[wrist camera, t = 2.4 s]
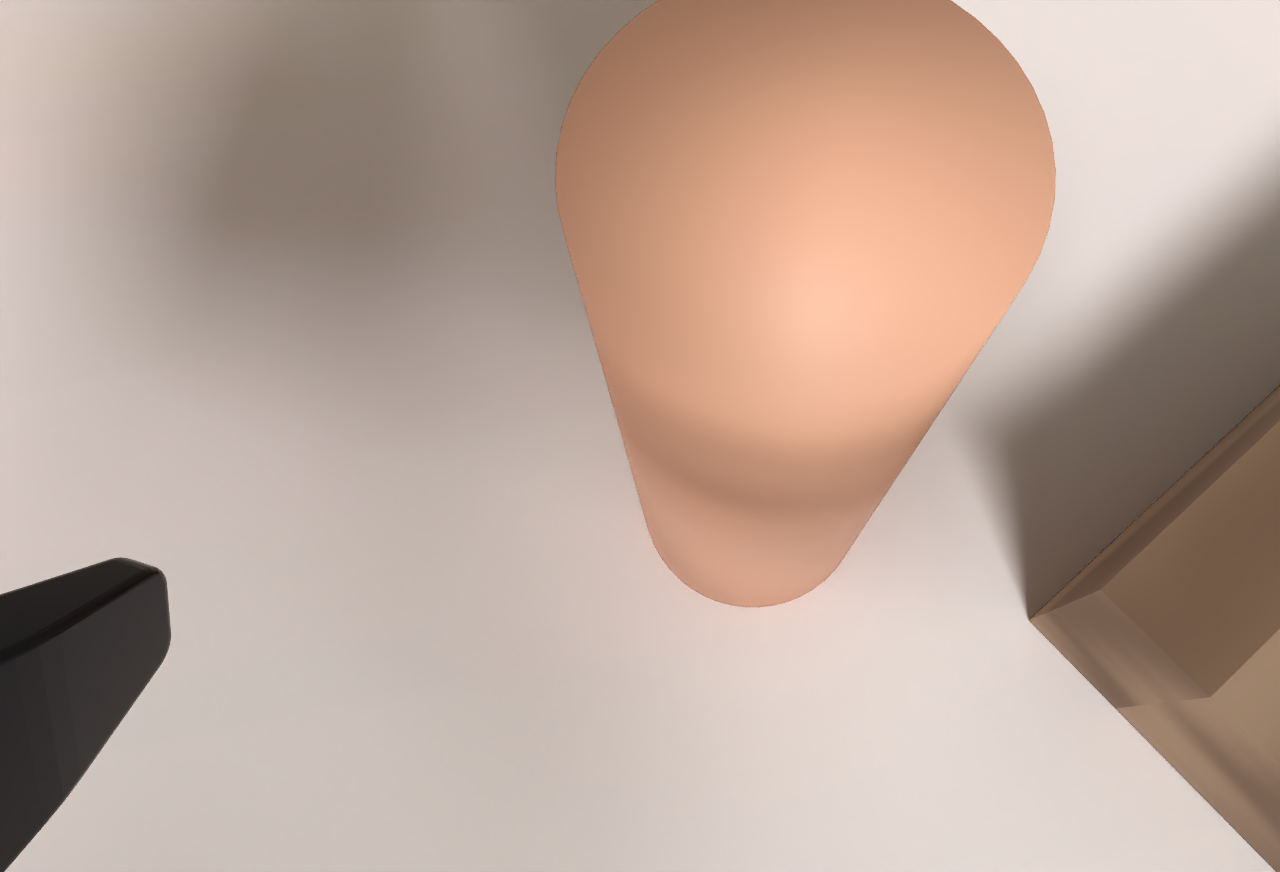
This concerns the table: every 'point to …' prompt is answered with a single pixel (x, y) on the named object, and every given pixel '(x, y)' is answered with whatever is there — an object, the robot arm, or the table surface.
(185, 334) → the table surface
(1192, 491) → the socket
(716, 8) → the peg
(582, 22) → the table surface
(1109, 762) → the table surface
